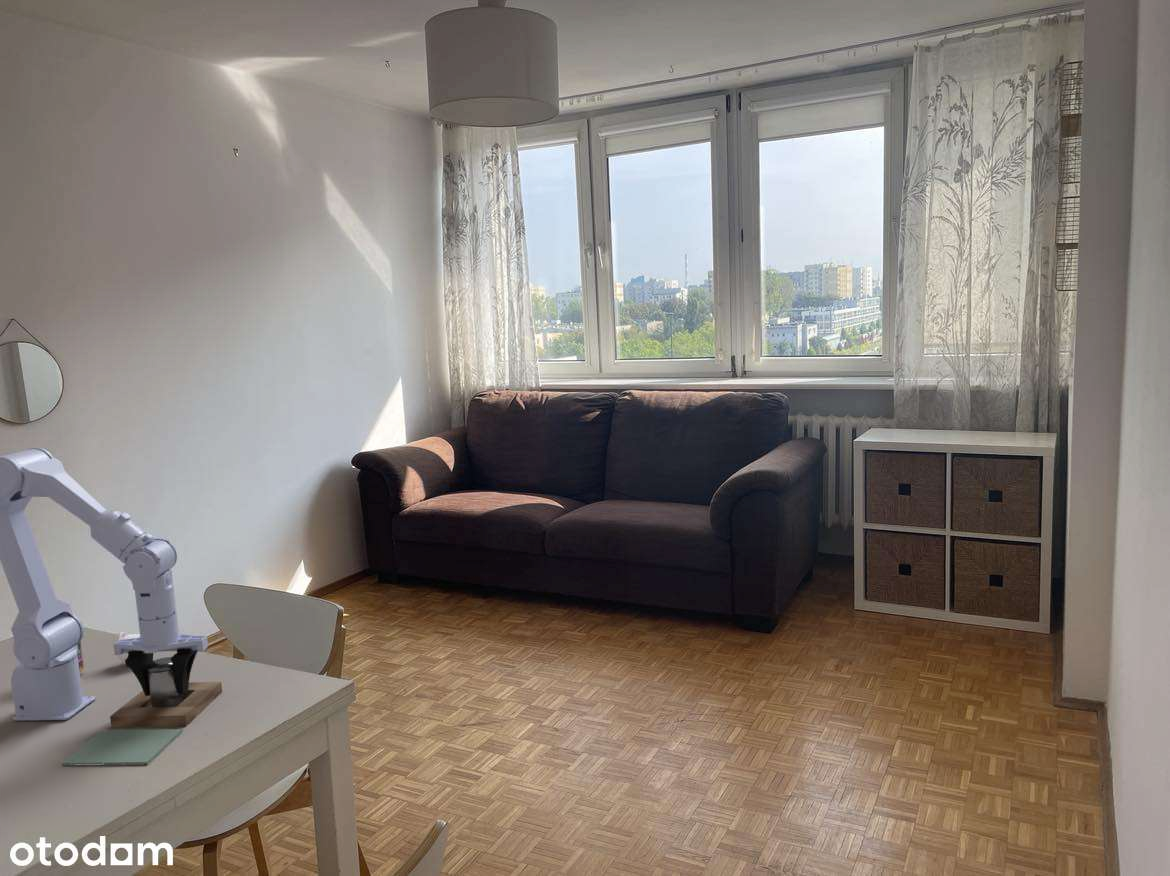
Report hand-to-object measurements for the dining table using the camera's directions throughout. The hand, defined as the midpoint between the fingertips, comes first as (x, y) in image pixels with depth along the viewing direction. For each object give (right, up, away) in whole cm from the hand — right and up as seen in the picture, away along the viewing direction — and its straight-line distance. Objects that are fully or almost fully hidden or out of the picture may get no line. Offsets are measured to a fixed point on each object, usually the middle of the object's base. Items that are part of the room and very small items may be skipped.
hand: (166, 692), depth 147 cm
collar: (0, -3, 0) cm, 3 cm away
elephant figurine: (-16, 0, +21) cm, 26 cm away
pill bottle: (-26, -2, +16) cm, 31 cm away
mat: (-1, -5, -12) cm, 13 cm away
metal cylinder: (0, -2, 0) cm, 2 cm away
